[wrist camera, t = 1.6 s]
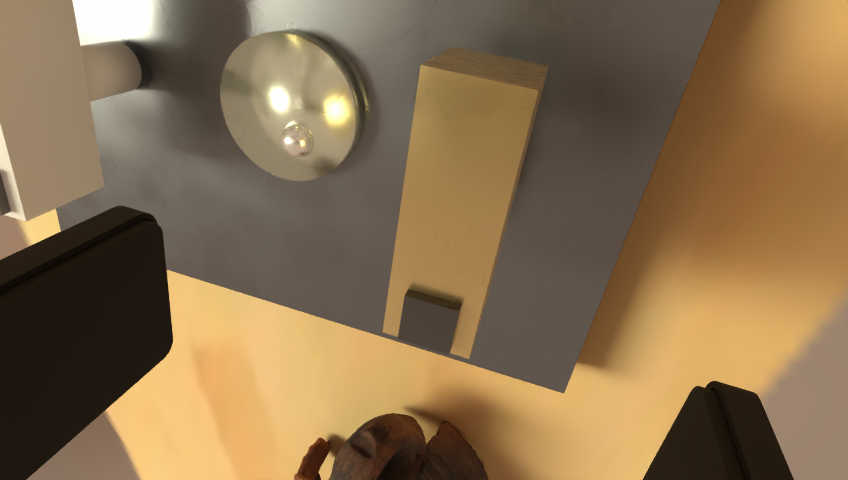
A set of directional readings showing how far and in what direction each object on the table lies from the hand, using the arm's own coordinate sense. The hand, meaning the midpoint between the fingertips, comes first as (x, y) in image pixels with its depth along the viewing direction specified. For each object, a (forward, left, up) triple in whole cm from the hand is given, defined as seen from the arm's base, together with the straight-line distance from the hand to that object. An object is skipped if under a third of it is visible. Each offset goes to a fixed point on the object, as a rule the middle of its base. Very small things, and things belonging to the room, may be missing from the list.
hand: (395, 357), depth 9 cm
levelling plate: (-1, -7, -12) cm, 14 cm away
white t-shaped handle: (-1, -14, -10) cm, 17 cm away
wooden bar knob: (-1, 0, -9) cm, 10 cm away
